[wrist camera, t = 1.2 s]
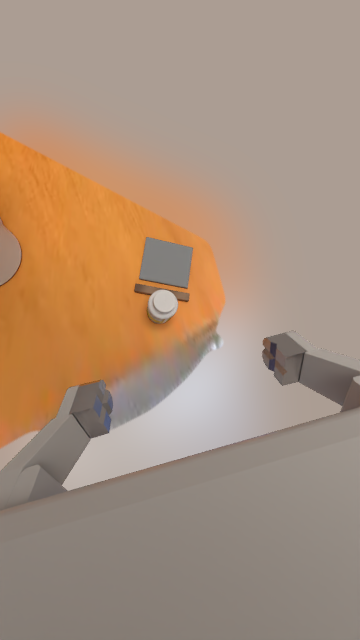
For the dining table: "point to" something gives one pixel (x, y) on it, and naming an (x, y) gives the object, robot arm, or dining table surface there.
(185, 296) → the strip
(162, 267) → the felt tile
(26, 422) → the dining table surface
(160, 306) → the supplement bottle
